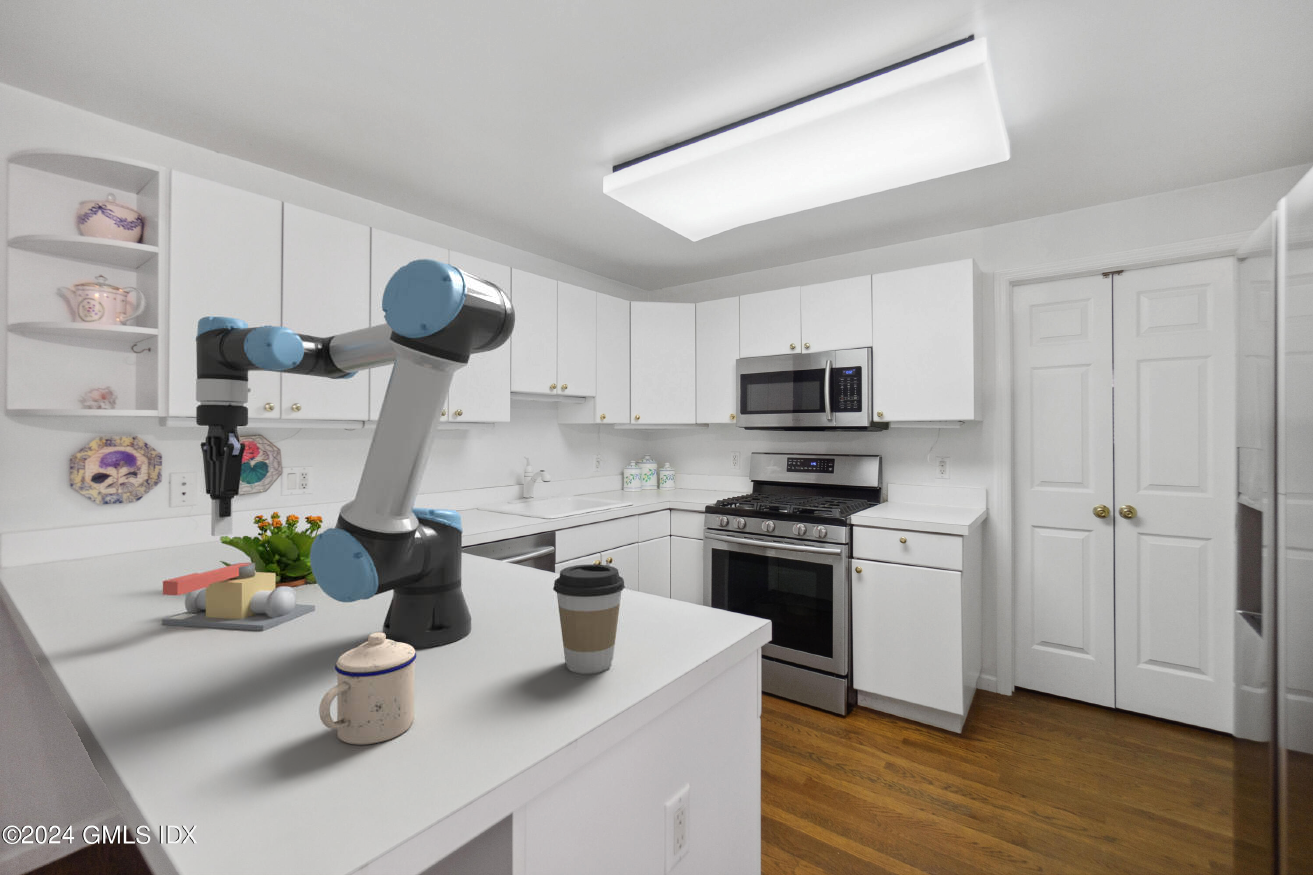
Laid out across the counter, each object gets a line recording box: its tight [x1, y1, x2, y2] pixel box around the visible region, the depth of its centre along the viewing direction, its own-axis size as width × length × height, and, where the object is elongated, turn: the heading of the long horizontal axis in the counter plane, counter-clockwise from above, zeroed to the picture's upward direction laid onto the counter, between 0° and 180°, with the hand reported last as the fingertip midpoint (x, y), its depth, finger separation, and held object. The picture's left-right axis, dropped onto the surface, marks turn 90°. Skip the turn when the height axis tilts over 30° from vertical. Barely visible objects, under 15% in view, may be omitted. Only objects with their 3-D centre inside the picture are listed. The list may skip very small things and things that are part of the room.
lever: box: [162, 562, 256, 596], centre depth 110 cm, size 17×4×3 cm, turn 171°
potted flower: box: [219, 511, 323, 588], centre depth 141 cm, size 25×24×18 cm
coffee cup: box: [552, 563, 626, 675], centre depth 92 cm, size 11×11×15 cm
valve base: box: [161, 571, 316, 632], centre depth 116 cm, size 22×13×8 cm, turn 81°
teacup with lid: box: [318, 632, 417, 746], centre depth 71 cm, size 12×9×12 cm
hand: (221, 534), depth 105 cm, fingers closed
